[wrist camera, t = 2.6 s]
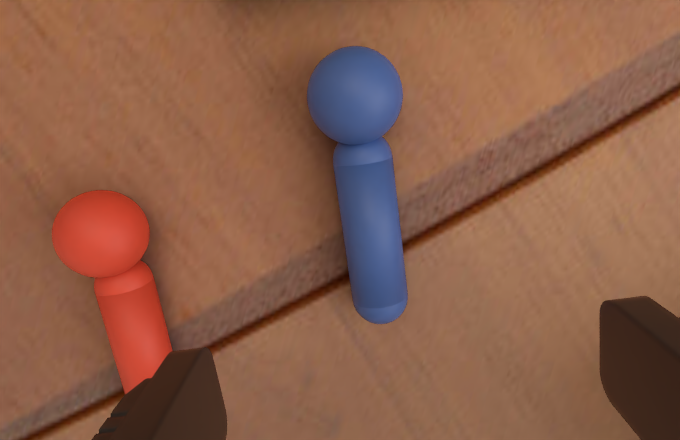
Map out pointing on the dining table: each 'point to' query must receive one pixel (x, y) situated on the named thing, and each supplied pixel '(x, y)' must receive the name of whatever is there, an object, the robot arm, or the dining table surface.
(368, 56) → the blue massage wand
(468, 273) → the dining table surface
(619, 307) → the robot arm
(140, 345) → the red ball-tipped rod
